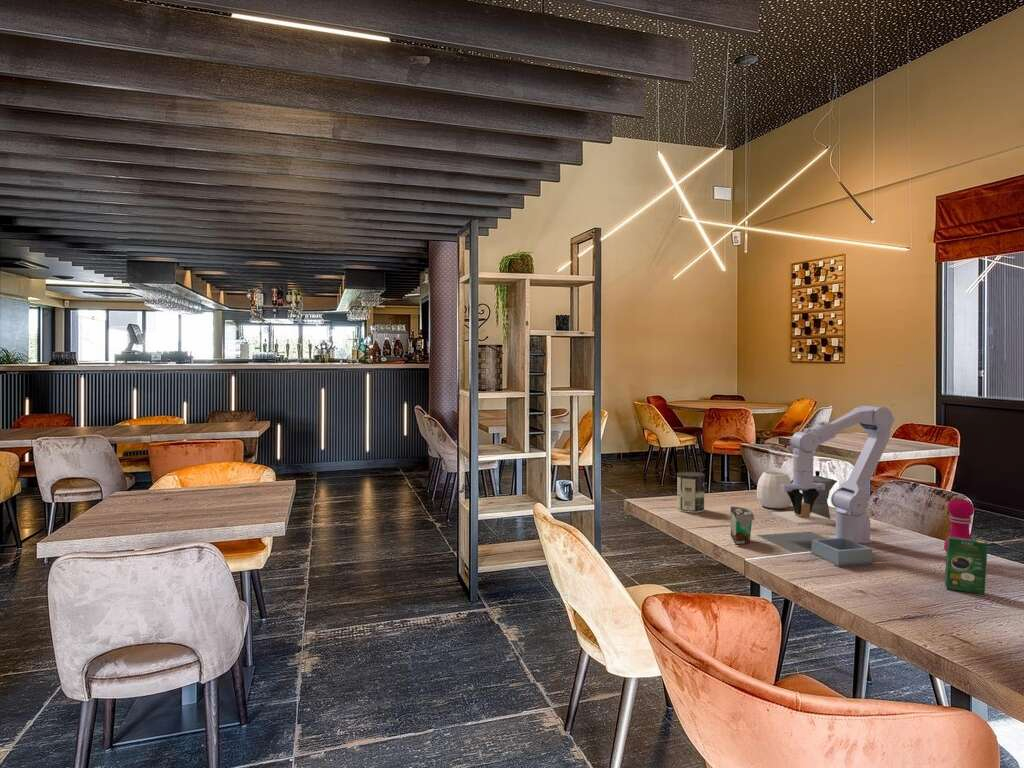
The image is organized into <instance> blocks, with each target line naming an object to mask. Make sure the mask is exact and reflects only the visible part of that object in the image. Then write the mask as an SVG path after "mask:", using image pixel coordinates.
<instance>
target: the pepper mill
mask: <svg viewBox="0 0 1024 768" xmlns="http://www.w3.org/2000/svg"><path fill="white" fill-rule="evenodd" d="M947 511H948V512H949V514H950V515H949V521H950V522H951V523H950V525H951V527H950V531H949V534H948V536H951V537H958V538H966V539H972V536H971V532H970V525H971V524H972V517H971V516H972V515H974V513H975V507H974V505H973V504H972V503H971V502H970V501H968V500H966V496H965V494H963V493H959V494H957V496H956V498H955V499H952V500H950V501H949V502H948V504H947ZM948 536H947V538H945V541H944V544H943V549H944V551H945V552H946V553H947V540H948Z"/></svg>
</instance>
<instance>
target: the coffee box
mask: <svg viewBox="0 0 1024 768" xmlns="http://www.w3.org/2000/svg"><path fill="white" fill-rule="evenodd" d="M947 537H948V540H947V552H946V555H945V569H944V570H945V571H944V576H945V577H944V587H945V586H946V587H945V589H946V588H947V589H946V590H951V589H952V590H951V591H955V590H960V591H959V592H964V591H966V593H972V594H975V593H976V595H977V594H978V595H985V594H986V593H985V592H986V579H987V577H986V575H987V559H988V543H987V541H986V540H980V539H966V538H958V537H951V536H949V535H947Z"/></svg>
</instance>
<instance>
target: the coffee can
mask: <svg viewBox="0 0 1024 768" xmlns="http://www.w3.org/2000/svg"><path fill="white" fill-rule="evenodd" d="M705 476H706V475H705V473H703V472H697V471H679V472H676V477H677V479H676V481H677V488H676V489H677V490H676V494H677V495H676V503H677V504H676V510H677V509H678V510H677V511H679V510H680V511H679V512H681V511H683V512H682V513H686V512H691V513H690V514H699V512H701V513H704V512H705V478H706V477H705ZM703 511H704V512H703Z"/></svg>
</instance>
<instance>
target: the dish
mask: <svg viewBox="0 0 1024 768" xmlns="http://www.w3.org/2000/svg"><path fill="white" fill-rule="evenodd" d="M873 549H874V548H871V547H869V546H867V545H864V544H862V543H856V542H854V541H851V540H849V539H846V538H827V539H817V540H812V545H811V551H810V552H811V553H810V554H811V555H813V556H815V557H818V558H820V559H822V560H824V561H827V562H829V563H831V564H833V565H834V567H837V568H845V567H858V566H859V565H860V566H869V565H873V553H874V552H873Z"/></svg>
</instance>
